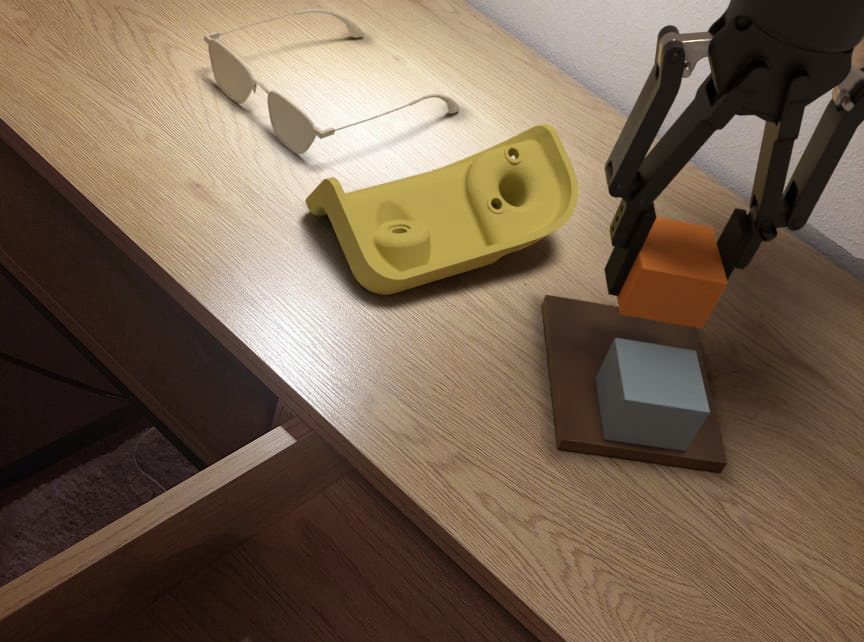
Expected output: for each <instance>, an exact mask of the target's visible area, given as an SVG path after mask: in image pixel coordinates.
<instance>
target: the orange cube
mask: <svg viewBox="0 0 864 642" xmlns="http://www.w3.org/2000/svg"><path fill="white" fill-rule="evenodd" d="M717 241H718V240H717V237H716V234H715V229H714V227H712V226H707V225H701V224H696V223H691V222H686V221H680V220H676V219H670V218H666V217H659V216H657V218H656V220H655V222H654V224H653V226H652V228H651V230H650V232H649V234H648V236H647V239H646V241H645V243H644V245H643V247H642V249H641V251H640V252H639V254H638V256H637V258H636V260H635V262H634V264H633V266H632V268H631V271H630V273H629V275H628V277H627V279H626V281H625V283H624V285H623V287H622V289H621V292H620V294H619V296H616V299H617V304H618V305H617V306H618V307H619V311H620V314H621V315H626V316H632V317H638V318H643V319H649V320H655V321H661V322H666V323H672V324H678V325H684V326H690V327H695V328H696V329H703V328H704V327H705V324H706V323H707V321H708V319H709V318H710V315H711V314H712V312H713V310H714V309H715V307H716V305H717V303H718V302H719V300H720V298H721V297H722V295H723V293H724V292H725V290H726V288H727V286H728V285H729V282H728V281H727V278H726V274H725V271H724V267H723V264H722V260H721V256H720V253H719V249H718V245H717Z"/></svg>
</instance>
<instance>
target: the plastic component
mask: <svg viewBox="0 0 864 642" xmlns="http://www.w3.org/2000/svg"><path fill="white" fill-rule="evenodd" d="M513 156H514V158H512V157H513ZM578 198H579V186H578V179H577V175H576V172H575V170H574V167H573V164H572V162H571V160H570V157H569V155H568V153H567V151H566V149H565V147H564V143H563V142H562V140H561V138H560V135H559V133H558V131H557V129H556V128H555V127H554V126H553V125H550V124H548V123H542V124H538V125H534V126H532V127H530V128H528V129H526V130H524V131H522V132H520V133H518V134H516V135H514V136H512V137H511V138H508V139H505V140H504V141H502V142H499V143H497V144H495V145H493V146H491V147H489V148H486V149H484V150H482V151H479V152H477V153H475V154H472V155H470V156H467V157H465V158H463V159H460V160H457V161H455V162H452V163H450V164H447V165H443V166H440V167H439V168H435V169H433V170H430V171H429V170H428V171H426V172H422V173H418V174H415V175H411V176H406V177H403V178H398V179H395V180H391V181H386V182H384V183H383V182H382V183H379V184H376V185H372V186H368V187H364V188H360V189H357V190H353V191H349V192H345V191H344V189H343V187H342V184H341V182H340V181H339V180H338V179H337V178H336V177H334V176H331V177H327V178H324V179H323V180H322V181H321V182H320V183H319V184H318V185H317V186H316V187H315V188H314V190H313V191H312V192H310V194H308V196H307V197H306V198H305V200H304V201H305V204H306V207H307V209H308V211H309V213H311V214H312V215H315V216H318V217H320V216H321V217H323V216H328V219H329V221H330V223H331V226H332V228H333V231H334V233H335V235H336V237H337V240H338V243H339V244H340V247H341V249H342V252H343V254H344V257H345V259H346V261H347V263H348V265H349V268H350V270H351V273H352V275H353V276H354V278H355V280H356V281H357V282H358V283H359V284H360V286H362V287H363V288H365V289H366V290H367V291H369V292H371V293H374V294H377V295H384V296H385V295H386V296H387V295H395V294H397V293H400V292H403V291H407V290H410V289H413V288H416V287H420V286H423V285H426V284H429V283H433V282H436V281H439V280H442V279H446V278H449V277H453V276H456V275H459V274H462V273H465V272H469V271H472V270H476V269H479V268H482V267H485V266H488V265H492V264H494V263H496V262H497V261H498V260H499V259H501V258H503V257H504V256H505V255H508V254H511V253H514V252H518V251H521V250H523V249H525V248H528V247H530V246H532V245H534V244H536V243H537V242H539V241H541V240H543V239H544V238H546V237H548V236H550V235H552V234H553V233H555V232H556V231H558V230H559V229H561V228H562V227H564V226H565V224H567V223H568V222H569V221H570V219H571V218H572V217H573V214H574V213H575V210H576V207H577V204H578Z"/></svg>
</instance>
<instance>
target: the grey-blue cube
mask: <svg viewBox="0 0 864 642" xmlns="http://www.w3.org/2000/svg"><path fill="white" fill-rule="evenodd" d="M595 381H596V388H597V394H598V401H599V408H600V415H601V422H602V429H603V435H604V439H605V440H610V441H617V442H624V443H631V444H638V445H645V446H651V447H658V448H665V449H672V450H679V451H686V450H687V449H688V447H689V445H690V444H691V442H692V441H693V439H694V437H695V436H696V434H697V433H698V431H699V429H700V428H701V426H702V425H703V423H704V421H705V420H706V418H707V416H708V415H709V413H710V409H709V405H708V401H707V396H706V392H705V388H704V383H703V379H702V375H701V370H700V366H699V362H698V357H697V353H696V351H695V350H688V349H682V348H676V347H670V346H664V345H657V344H651V343H645V342H639V341H632V340H626V339H620V338H615V339H614V341H613V343H612V345H611V347H610V349H609V351H608V353H607V355H606V357H605V359H604V361H603V363H602V366H601V368H600V370H599V372H598V374H597V376H596V378H595Z"/></svg>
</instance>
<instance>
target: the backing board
mask: <svg viewBox="0 0 864 642" xmlns="http://www.w3.org/2000/svg"><path fill="white" fill-rule="evenodd" d="M541 309H542V317H543V326H544V328H543V329H544V334H545V336H544V337H545V345H546V354H547V362H548V364H547V365H548V372H549V381H550V389H551V390H550V391H551V396H552V399H551V400H552V408H553V418H554V425H555V427H554V428H555V435H556V444H557V449H558V450H562V451H570V452H576V453H584V454H590V455H596V456H597V455H598V456H603V457H612V458H620V459H624V460H625V459H626V460H633V461H638V462H639V461H640V462H647V463H653V464H661V465H667V466H668V465H669V466H673V467H682V468H687V469H695V470H702V471H709V472H717V473H722V472H723V470H724V469H725V468H726V466H727V464H728V460H727V455H726V452H725V447H724V444H723V439H722V434H721V431H720V426H719V422H718V418H717V414H716V410H715V405H714V401H713V396H712V392H711V388H710V384H709V383H710V382H709V379H708V375H707V371H706V367H705V363H704V358H703V354H702V350H701V346H700V341H699V337H698V333H697V328H695V327H690V326H684V325H678V324H672V323H666V322H661V321H655V320H649V319H643V318H638V317H632V316H626V315H621V314H620V311H619V305H611V304H606V303H601V302H600V303H598V302H593V301H587V300H580V299H575V298H569V297H563V296H556V295H551V294H545V295H544V298H543V301H542V303H541ZM615 338H620V339H626V340H632V341H639V342H645V343H651V344H657V345H664V346H670V347H676V348H682V349H688V350H695V351H696V353H697V357H698V362H699V366H700V370H701V375H702V379H703V383H704V388H705V392H706V396H707V401H708V405H709V409H710V413H709V415H708V416H707V418H706V420H705V421H704V423H703V425H702V426H701V428H700V429H699V431H698V433H697V434H696V436H695V437H694V439H693V441H692V442H691V444H690V445H689V447H688V449H687V450H686V451H679V450H672V449H665V448H658V447H651V446H645V445H638V444H631V443H624V442H617V441H610V440H605V439H604V435H603V429H602V422H601V415H600V408H599V401H598V394H597V388H596V381H595V378H596V376H597V374H598V372H599V370H600V368H601V366H602V363H603V361H604V359H605V357H606V355H607V353H608V351H609V349H610V347H611V345H612V343H613V341H614V339H615Z"/></svg>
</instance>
